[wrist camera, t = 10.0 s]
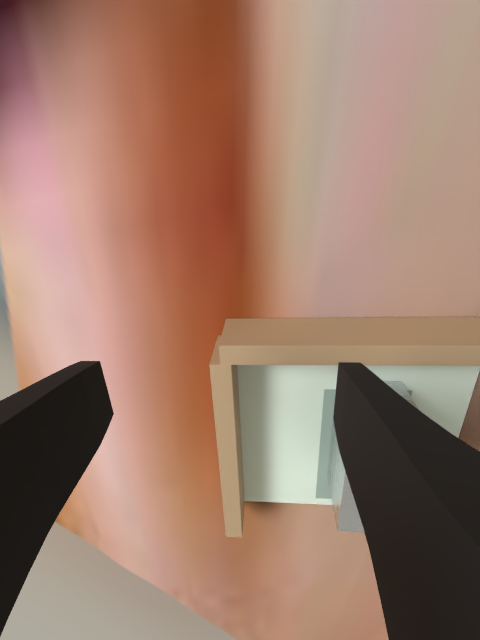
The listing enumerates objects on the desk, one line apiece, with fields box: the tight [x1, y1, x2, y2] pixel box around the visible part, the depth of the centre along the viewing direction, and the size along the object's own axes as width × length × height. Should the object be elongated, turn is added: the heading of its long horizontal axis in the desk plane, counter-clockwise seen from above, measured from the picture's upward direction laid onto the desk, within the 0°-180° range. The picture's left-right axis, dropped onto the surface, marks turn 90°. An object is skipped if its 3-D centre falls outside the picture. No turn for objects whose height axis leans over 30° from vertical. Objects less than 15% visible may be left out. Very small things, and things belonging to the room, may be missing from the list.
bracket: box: [327, 381, 419, 532], centre depth 19 cm, size 9×4×7 cm, turn 3°
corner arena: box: [209, 317, 480, 537], centre depth 21 cm, size 17×16×4 cm
